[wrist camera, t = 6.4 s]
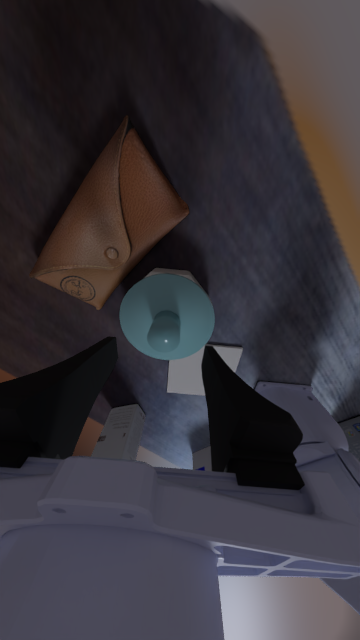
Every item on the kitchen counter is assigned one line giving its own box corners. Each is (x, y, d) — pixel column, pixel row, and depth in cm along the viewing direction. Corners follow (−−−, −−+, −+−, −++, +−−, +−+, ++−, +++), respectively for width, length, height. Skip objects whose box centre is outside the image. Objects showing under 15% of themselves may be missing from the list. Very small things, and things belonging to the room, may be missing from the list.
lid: (218, 273, 16) (228, 283, 12) (209, 356, 21) (214, 381, 17) (114, 272, 16) (93, 281, 13) (129, 355, 21) (117, 379, 18)
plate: (242, 347, 24) (243, 348, 24) (226, 395, 29) (226, 397, 28) (171, 340, 24) (170, 342, 23) (167, 390, 29) (166, 392, 28)
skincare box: (137, 402, 30) (111, 491, 20) (146, 416, 32) (127, 504, 21) (110, 408, 31) (70, 495, 21) (120, 421, 33) (89, 507, 22)
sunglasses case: (100, 315, 22) (44, 316, 16) (77, 278, 23) (18, 266, 17) (196, 208, 16) (167, 144, 10) (158, 168, 18) (113, 90, 11)
